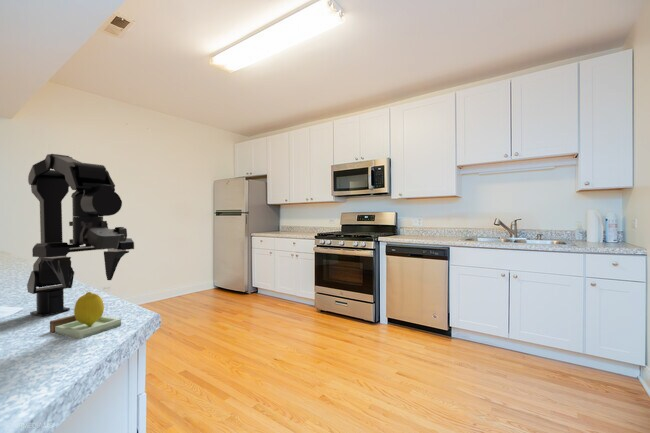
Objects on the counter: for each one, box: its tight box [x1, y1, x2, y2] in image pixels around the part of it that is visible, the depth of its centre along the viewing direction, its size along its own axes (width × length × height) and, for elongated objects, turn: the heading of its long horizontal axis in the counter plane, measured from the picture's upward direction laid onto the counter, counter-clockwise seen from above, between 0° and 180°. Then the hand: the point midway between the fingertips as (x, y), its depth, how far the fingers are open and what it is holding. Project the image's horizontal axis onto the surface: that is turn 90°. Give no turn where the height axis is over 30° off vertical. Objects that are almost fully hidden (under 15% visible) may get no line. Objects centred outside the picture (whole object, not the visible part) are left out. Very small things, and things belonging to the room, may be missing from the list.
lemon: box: [73, 291, 105, 326], centre depth 73 cm, size 6×6×8 cm
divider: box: [49, 314, 77, 333], centre depth 76 cm, size 1×10×2 cm, turn 156°
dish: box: [54, 315, 122, 340], centre depth 73 cm, size 9×9×2 cm
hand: (89, 283), depth 73 cm, fingers open, 9 cm apart
